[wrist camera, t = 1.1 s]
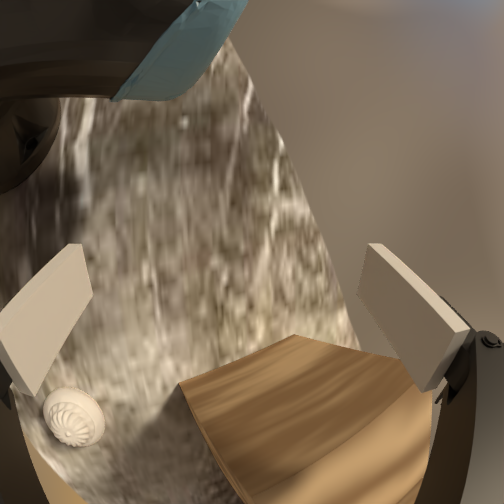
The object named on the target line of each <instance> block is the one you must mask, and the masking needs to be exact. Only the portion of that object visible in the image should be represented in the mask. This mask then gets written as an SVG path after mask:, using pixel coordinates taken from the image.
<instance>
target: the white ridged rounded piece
mask: <svg viewBox="0 0 504 504" xmlns="http://www.w3.org/2000/svg"><path fill="white" fill-rule="evenodd" d="M43 414H44V418H45V421H46V423H47V425H48V427H49V428H50V430H51V431H52V432H53V433H54V436H55V437H56V438H58V439H59V441H60V442H62V443H65V444H66V445H67V446H69V445H72V446H73V447H75V446H78V447H86V446H91V445H93V444H95V443H96V442H98V441H99V440H100V438H101V437H102V435H103V433H104V430H105V418H104V415H103V412H102V410H101V409H100V407H99V405H98V404H97V403H96V401H95V400H93V398H92V397H91V396H89V395H88V393H84V392H83V390H82V391H80V390H79V389H78V388H76V389H75V388H73V387H71V388H69V387H62V388H57V389H55V390H53V391H52V392H51V393H50V394H49V395H48V396H47V398H46V399H45V402H44V405H43Z"/></svg>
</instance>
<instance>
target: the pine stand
mask: <svg viewBox="0 0 504 504" xmlns="http://www.w3.org/2000/svg"><path fill="white" fill-rule="evenodd" d="M179 385H180V388H181V390H182V392H183V395H184V397H185V399H186V401H187V404H188V406H189V408H190V410H191V412H192V414H193V416H194V419H195V421H196V423H197V425H198V427H199V429H200V431H201V433H202V435H203V437H204V439H205V441H206V443H207V445H208V447H209V448H210V450H211V452H212V454H213V456H214V458H215V460H216V461H217V463H218V465H219V467H220V469H221V470H222V472H223V473H224V475H225V476H226V478H227V480H228V481H229V483H230V484H231V486H232V487H233V488H234V490H235V491H236V493H237V494H238V496H239V497H240V499H241V500H242V501H243V503H244V504H414V502H415V500H416V497H417V495H418V492H419V489H420V486H421V483H422V480H423V477H424V474H425V471H426V468H427V463H428V454H429V445H430V433H431V413H432V390H430V391H427V392H424V393H421V392H420V391H419V389H418V387H417V386H416V384H415V383H414V381H413V379H412V378H411V376H410V374H409V373H408V371H407V370H406V368H405V366H404V365H403V363H402V362H401V360H400V359H395V358H391V357H386V356H381V355H376V354H372V353H367V352H363V351H358V350H354V349H350V348H345V347H341V346H337V345H333V344H329V343H325V342H321V341H317V340H313V339H310V338H306V337H302V336H298V335H295V334H294V335H292V336H290V337H288V338H285V339H283V340H281V341H279V342H277V343H275V344H273V345H270V346H268V347H266V348H264V349H262V350H259V351H257V352H255V353H253V354H250V355H248V356H246V357H243V358H241V359H239V360H236V361H234V362H232V363H229V364H227V365H224V366H222V367H219V368H217V369H214V370H212V371H209V372H207V373H204V374H202V375H199V376H196V377H194V378H191V379H188V380H185V381H183V382H180V383H179Z"/></svg>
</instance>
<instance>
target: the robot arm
mask: <svg viewBox="0 0 504 504" xmlns="http://www.w3.org/2000/svg"><path fill="white" fill-rule="evenodd" d="M247 2H248V0H0V194H2V193H4V192H6V191H8V190H10V189H12V188H14V187H15V186H17V185H18V184H20V183H21V182H22V181H24V180H25V179H26V178H27V177H28V176H29V175H30V174H31V173H32V172H33V171H34V170H35V169H36V168H37V167H38V165H39V164H40V163H41V162H42V160H43V159H44V158H45V156H46V155H47V153H48V151H49V150H50V148H51V146H52V144H53V142H54V140H55V137H56V135H57V132H58V129H59V125H60V120H61V105H60V100H59V98H65V97H80V98H110V99H109V102H118V101H120V100H121V99H130V100H149V101H167V100H171V99H174V98H176V97H178V96H180V95H182V94H183V93H185V92H186V91H187V90H188V89H189V88H191V87H192V86H193V85H194V84H195V83H196V82H197V81H198V80H199V78H200V77H201V76H202V75H203V73H204V72H205V71H206V69H207V68H208V66H209V65H210V63H211V62H212V61H213V59H214V57H215V56H216V54H217V53H218V51H219V50H220V48H221V47H222V45H223V44H224V42H225V40H226V39H227V37H228V35H229V34H230V32H231V30H232V29H233V27H234V25H235V23H236V22H237V20H238V18H239V17H240V15H241V13H242V12H243V10H244V8H245V6H246V4H247ZM357 296H358V297H359V298H360V300H361V301H362V303H363V304H364V306H365V307H366V309H367V310H368V311H369V313H370V314H371V316H372V317H373V319H374V320H375V322H376V323H377V325H378V326H379V328H380V329H381V330H382V332H383V334H384V335H385V336H386V338H387V340H388V341H389V343H390V344H391V346H392V347H393V349H394V350H395V352H396V354H397V355H398V356H399V358H400V360H401V362H402V363H403V365H404V366H405V368H406V370H407V371H408V373H409V374H410V376H411V378H412V379H413V381H414V383H415V384H416V386H417V387H418V389H419V391H420V392H421V393H424V392H427V391H430V390H433V389H436V388H437V386H438V385H439V383H440V382H441V380H442V379H443V377H445V379H446V380H447V381H448V383H447V385H446V386H445V387H444V389H443V391H442V392H441V393H440V395H439V396H438V398H437V399H436V401H435V404H437V403H438V402H439V400H440V399H442V403H441V410H440V416H439V420H438V425H437V430H436V434H435V439H434V443H433V447H432V450H431V454H430V458H429V462H428V465H427V468H426V471H425V474H424V477H423V480H422V483H421V486H420V489H419V492H418V495H417V497H416V500H415V502H414V504H504V343H502V341H501V340H500V339H499V338H498V337H497V336H496V335H495V334H493V333H491V332H489V331H479V332H476V331H475V330H474V329H473V328H472V327H471V326H470V325H469V323H468V322H467V321H466V320H465V319H464V318H463V317H462V316H461V315H460V314H459V313H457V311H456V310H455V309H454V308H453V307H451V305H450V304H449V303H448V302H447V301H446V300H445V299H444V298H443V297H441V296H439V295H438V294H436V293H435V292H434V291H433V290H432V289H431V288H430V287H429V286H428V285H427V284H426V283H425V282H424V281H422V280H421V279H420V278H419V277H418V276H417V275H416V274H415V273H414V272H413V271H412V270H411V269H409V268H408V267H407V266H406V265H405V264H404V263H403V262H402V261H400V259H398V258H397V257H396V256H395V255H394V254H393V253H392V252H390V251H389V250H388V249H387V248H386V247H385V246H384V245H382V244H368V246H367V251H366V255H365V260H364V265H363V270H362V274H361V278H360V282H359V287H358V291H357ZM92 297H93V292H92V288H91V284H90V280H89V276H88V272H87V267H86V263H85V258H84V253H83V248H82V244H68V245H67V246H66V247H65V248H63V249H62V250H61V251H60V252H59V253H58V254H57V255H56V256H55V257H54V258H53V259H51V260H50V261H49V262H48V263H47V264H46V265H45V266H44V267H43V268H42V269H41V270H40V271H39V272H38V273H37V274H36V275H35V276H34V277H33V278H32V279H31V280H30V281H29V282H28V283H27V284H26V285H25V286H24V287H23V288H22V289H21V290H20V291H19V292H18V293H17V294H16V295H15V297H14V298H13V299H11V300H10V301H9V302H8V303H7V304H6V305H5V306H4V308H3V310H1V311H0V504H49V502H48V500H47V498H46V495H45V493H44V491H43V488H42V486H41V484H40V482H39V479H38V477H37V474H36V471H35V469H34V466H33V464H32V461H31V458H30V455H29V452H28V449H27V446H26V443H25V440H24V436H23V432H22V429H21V425H20V421H19V417H18V413H17V409H16V404H15V399H14V395H13V392H12V390H11V389H10V385H11V383H12V381H13V382H14V384H15V385H16V387H17V388H18V390H19V391H20V393H23V394H26V395H29V396H32V397H35V396H36V394H37V392H38V390H39V388H40V386H41V384H42V382H43V380H44V378H45V376H46V374H47V372H48V371H49V369H50V367H51V365H52V363H53V361H54V359H55V358H56V356H57V354H58V352H59V350H60V349H61V347H62V345H63V343H64V342H65V340H66V338H67V337H68V335H69V333H70V332H71V330H72V328H73V327H74V325H75V323H76V322H77V320H78V318H79V317H80V315H81V314H82V312H83V311H84V309H85V307H86V306H87V304H88V303H89V301H90V300H91V298H92Z"/></svg>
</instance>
